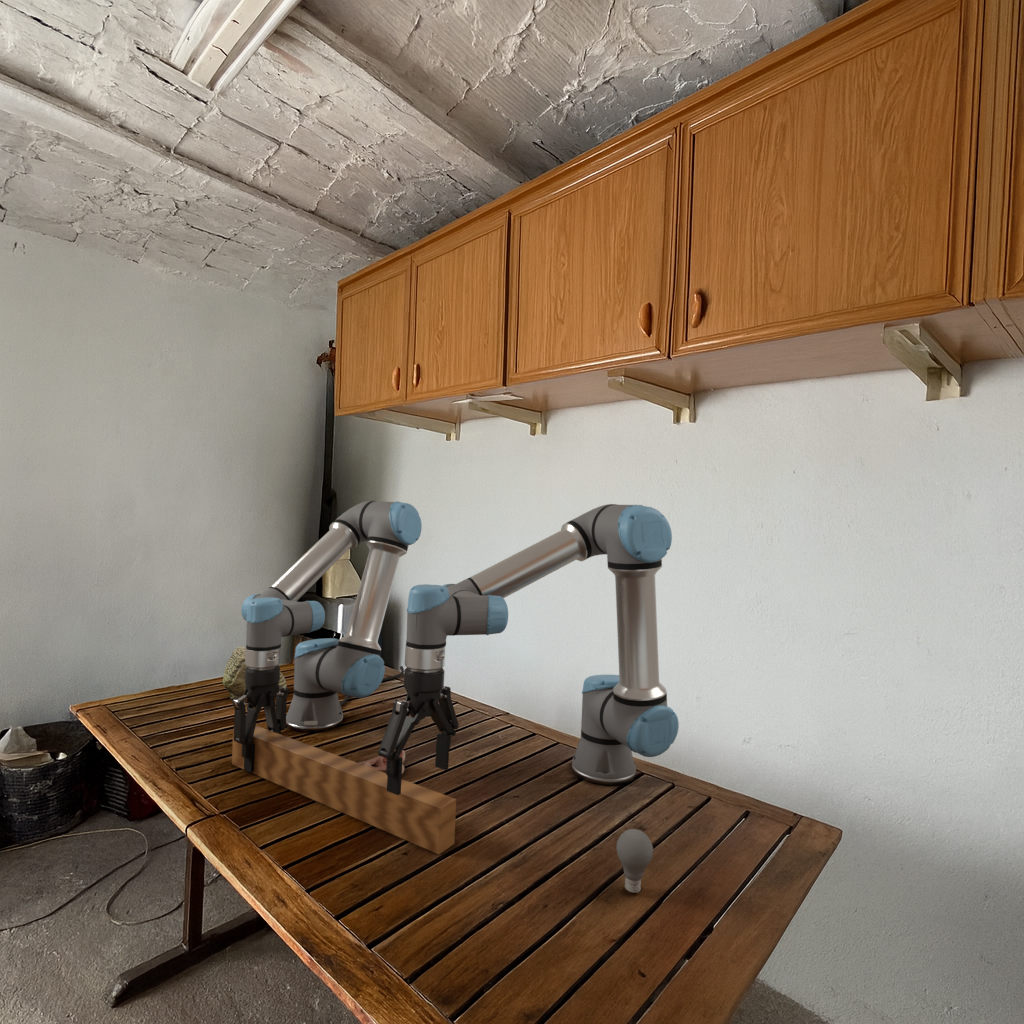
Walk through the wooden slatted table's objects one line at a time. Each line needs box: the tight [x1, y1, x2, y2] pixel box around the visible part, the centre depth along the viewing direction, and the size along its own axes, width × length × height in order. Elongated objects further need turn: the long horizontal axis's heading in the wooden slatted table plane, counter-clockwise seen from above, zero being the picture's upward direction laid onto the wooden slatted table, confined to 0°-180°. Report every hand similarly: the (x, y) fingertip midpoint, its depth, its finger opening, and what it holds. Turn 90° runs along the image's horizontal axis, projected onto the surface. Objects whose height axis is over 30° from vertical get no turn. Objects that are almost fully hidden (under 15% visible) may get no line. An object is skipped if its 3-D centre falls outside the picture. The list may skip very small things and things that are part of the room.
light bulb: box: [615, 828, 654, 894], centre depth 106 cm, size 6×6×10 cm
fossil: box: [222, 646, 288, 699], centre depth 198 cm, size 9×18×15 cm, turn 132°
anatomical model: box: [358, 749, 406, 775], centre depth 146 cm, size 13×4×12 cm
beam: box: [231, 725, 457, 855], centre depth 133 cm, size 62×5×8 cm, turn 57°
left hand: (259, 766), depth 146 cm, fingers closed on beam, 5 cm apart
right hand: (418, 779), depth 119 cm, fingers open, 13 cm apart
